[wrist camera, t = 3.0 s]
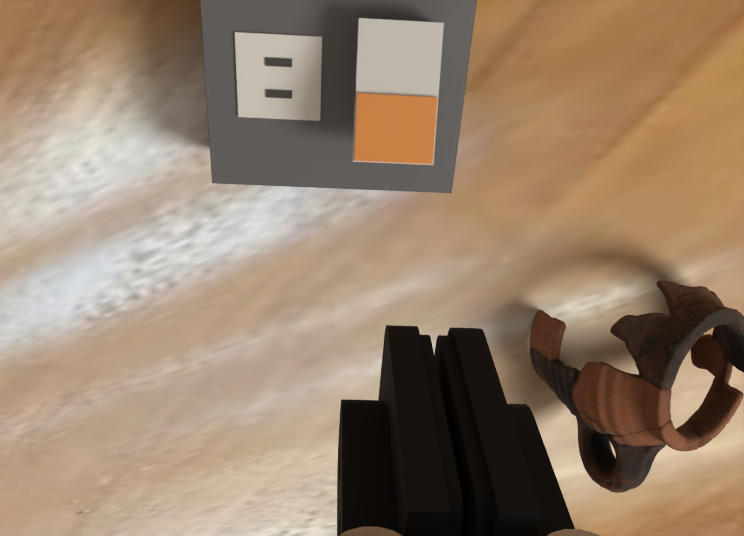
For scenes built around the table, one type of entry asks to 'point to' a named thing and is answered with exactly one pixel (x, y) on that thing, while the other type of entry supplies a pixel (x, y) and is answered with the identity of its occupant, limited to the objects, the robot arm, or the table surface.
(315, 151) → the power strip
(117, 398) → the table surface
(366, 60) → the rocker
